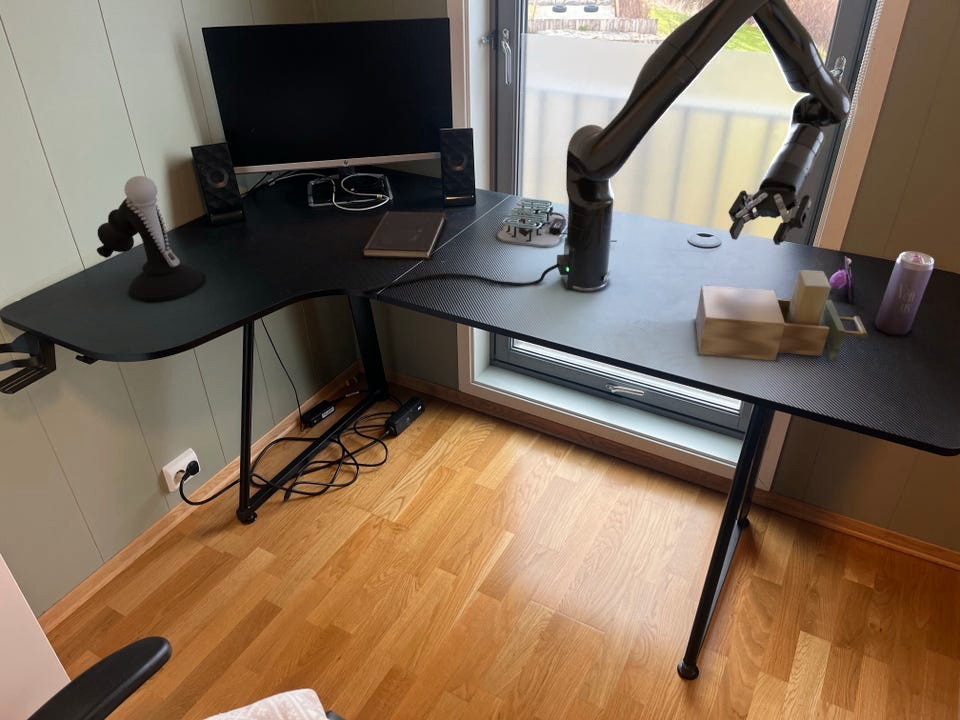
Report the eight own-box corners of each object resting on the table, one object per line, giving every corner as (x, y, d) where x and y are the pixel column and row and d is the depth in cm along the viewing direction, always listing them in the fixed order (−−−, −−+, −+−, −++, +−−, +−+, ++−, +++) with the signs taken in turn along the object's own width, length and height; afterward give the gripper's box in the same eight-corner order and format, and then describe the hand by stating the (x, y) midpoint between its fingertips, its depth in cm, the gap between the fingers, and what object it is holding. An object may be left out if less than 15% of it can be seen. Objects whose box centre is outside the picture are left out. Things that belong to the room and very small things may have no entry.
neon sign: (614, 238, 162) (493, 225, 170) (612, 255, 164) (493, 241, 172) (627, 205, 178) (517, 194, 186) (626, 221, 181) (517, 209, 189)
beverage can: (908, 324, 136) (934, 254, 128) (909, 339, 132) (936, 267, 123) (874, 318, 138) (898, 248, 130) (874, 332, 134) (899, 261, 125)
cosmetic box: (783, 326, 133) (798, 268, 126) (807, 327, 132) (823, 269, 125) (789, 344, 128) (805, 284, 121) (814, 346, 127) (831, 286, 120)
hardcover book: (445, 221, 183) (444, 212, 182) (429, 259, 165) (428, 250, 163) (385, 219, 185) (385, 211, 184) (363, 257, 166) (362, 248, 165)
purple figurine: (852, 273, 140) (850, 255, 147) (823, 277, 142) (823, 259, 149) (855, 302, 143) (853, 283, 150) (827, 306, 145) (826, 287, 152)
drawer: (849, 330, 133) (859, 301, 130) (864, 362, 124) (875, 333, 121) (755, 322, 136) (762, 294, 133) (763, 354, 127) (770, 324, 124)
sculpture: (172, 306, 148) (137, 193, 134) (85, 290, 155) (43, 181, 141) (216, 274, 160) (188, 167, 146) (133, 261, 167) (99, 158, 153)
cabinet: (766, 325, 137) (774, 290, 132) (775, 360, 127) (785, 323, 122) (695, 320, 139) (701, 285, 135) (699, 354, 129) (706, 317, 125)
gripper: (748, 158, 139) (714, 223, 135) (821, 161, 129) (786, 231, 126) (758, 183, 144) (724, 246, 141) (829, 188, 134) (795, 256, 131)
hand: (754, 239), depth 133 cm, fingers open, 8 cm apart
